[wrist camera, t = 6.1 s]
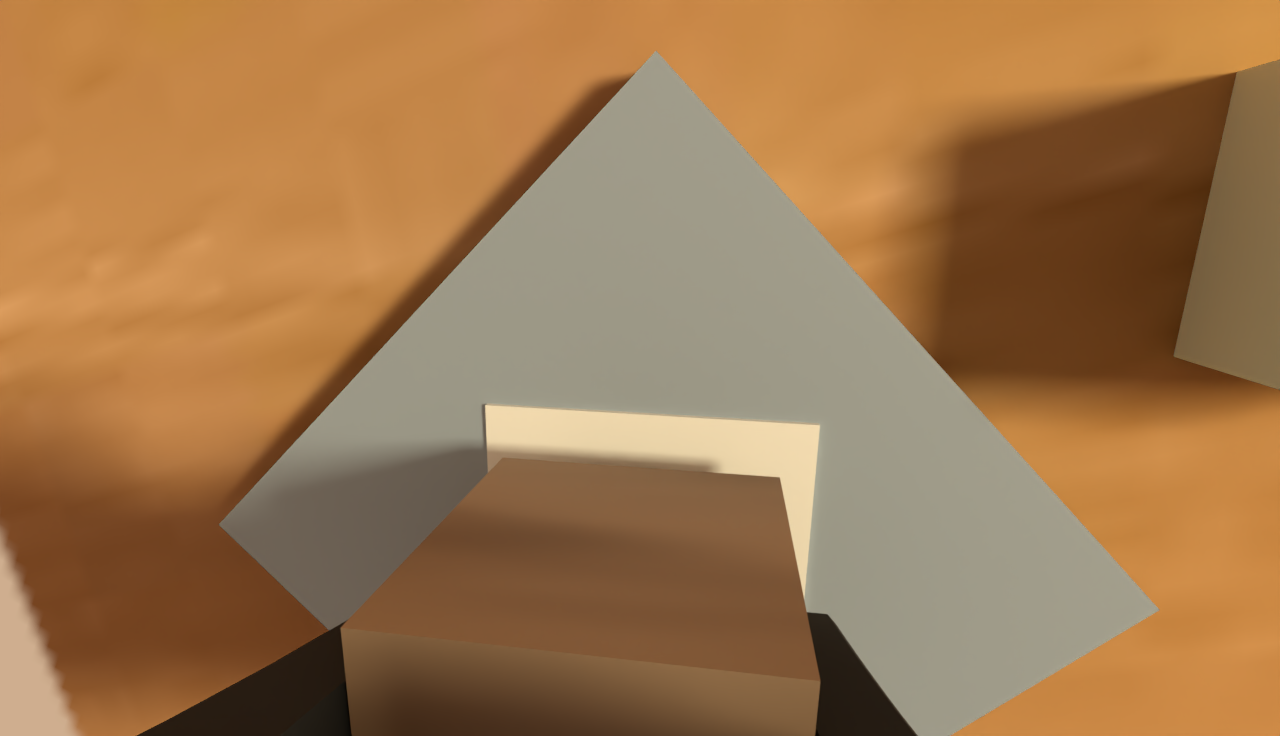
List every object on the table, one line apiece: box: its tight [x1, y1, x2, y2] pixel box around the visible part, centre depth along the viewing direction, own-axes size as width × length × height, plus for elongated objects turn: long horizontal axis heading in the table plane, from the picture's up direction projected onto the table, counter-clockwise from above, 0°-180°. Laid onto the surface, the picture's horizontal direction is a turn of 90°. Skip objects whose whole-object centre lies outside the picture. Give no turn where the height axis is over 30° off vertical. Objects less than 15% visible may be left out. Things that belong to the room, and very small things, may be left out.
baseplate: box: [219, 51, 1159, 736], centre depth 11 cm, size 11×11×1 cm
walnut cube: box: [341, 458, 820, 736], centre depth 8 cm, size 4×4×4 cm
